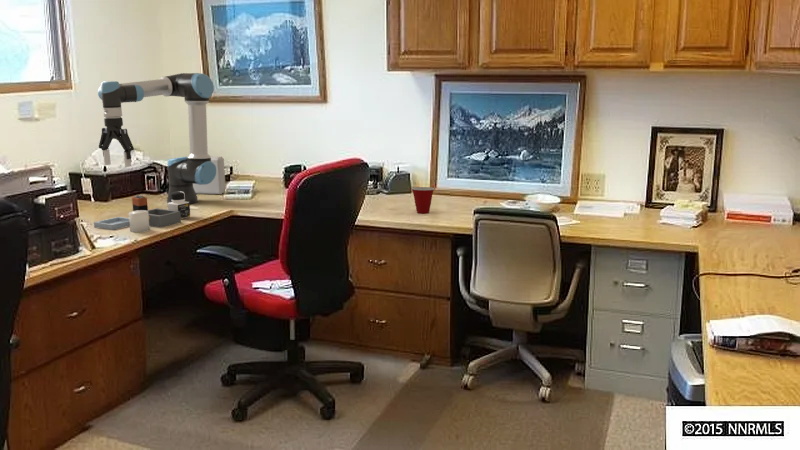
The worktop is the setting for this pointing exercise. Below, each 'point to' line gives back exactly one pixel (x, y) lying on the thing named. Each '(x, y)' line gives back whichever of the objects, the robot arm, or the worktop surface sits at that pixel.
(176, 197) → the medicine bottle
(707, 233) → the worktop surface
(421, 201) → the plastic cup
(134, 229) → the white rounded cylinder
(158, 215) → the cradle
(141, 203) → the battery
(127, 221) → the tray
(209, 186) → the bevelled white case
